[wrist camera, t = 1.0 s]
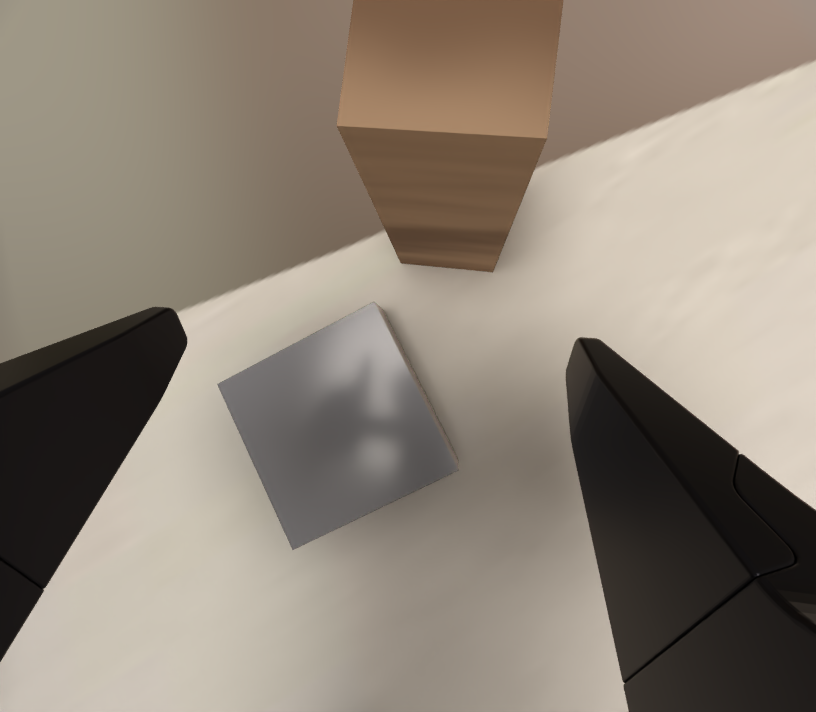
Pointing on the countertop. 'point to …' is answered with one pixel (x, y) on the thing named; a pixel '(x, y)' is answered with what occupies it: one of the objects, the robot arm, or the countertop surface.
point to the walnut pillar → (448, 118)
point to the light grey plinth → (338, 425)
